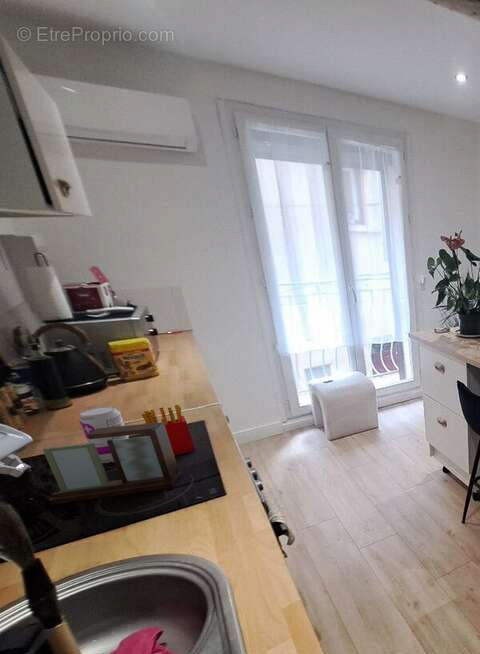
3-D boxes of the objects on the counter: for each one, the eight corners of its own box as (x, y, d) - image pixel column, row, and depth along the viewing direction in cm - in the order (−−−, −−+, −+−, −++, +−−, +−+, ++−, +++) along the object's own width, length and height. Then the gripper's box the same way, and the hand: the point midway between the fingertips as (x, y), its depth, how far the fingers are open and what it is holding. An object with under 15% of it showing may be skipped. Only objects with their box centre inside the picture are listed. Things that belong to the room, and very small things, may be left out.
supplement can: (101, 467, 116) (82, 418, 111) (92, 459, 120) (73, 412, 115) (138, 455, 123) (122, 409, 117) (128, 448, 127) (112, 403, 121)
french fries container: (153, 453, 124) (139, 410, 119) (191, 444, 130) (179, 403, 126) (156, 461, 120) (141, 417, 115) (195, 451, 126) (183, 409, 121)
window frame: (51, 505, 99) (22, 443, 93) (67, 492, 104) (41, 432, 98) (172, 487, 107) (153, 429, 101) (181, 476, 113) (164, 420, 107)
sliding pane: (61, 493, 101) (42, 449, 96) (64, 491, 101) (44, 447, 97) (108, 487, 104) (91, 444, 100) (110, 485, 105) (93, 442, 100)
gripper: (-91, 450, 81) (-2, 484, 88) (-7, 413, 99) (62, 444, 106) (-112, 473, 81) (-21, 506, 88) (-24, 432, 99) (45, 462, 106)
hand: (25, 472), depth 97 cm, fingers closed
